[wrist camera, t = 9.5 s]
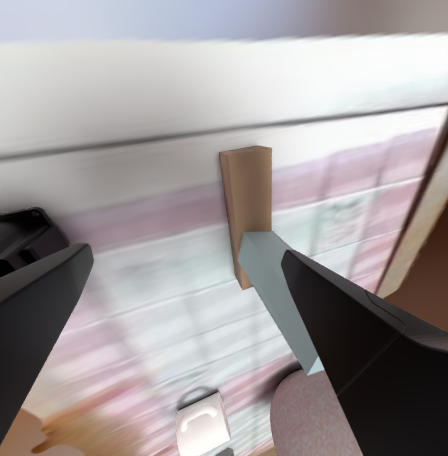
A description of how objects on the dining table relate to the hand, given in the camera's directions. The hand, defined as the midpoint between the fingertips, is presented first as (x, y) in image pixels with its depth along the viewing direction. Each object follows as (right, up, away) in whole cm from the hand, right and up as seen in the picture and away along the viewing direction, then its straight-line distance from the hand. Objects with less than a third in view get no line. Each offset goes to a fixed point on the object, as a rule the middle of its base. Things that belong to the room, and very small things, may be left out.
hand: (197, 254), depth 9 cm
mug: (-5, -38, +35) cm, 52 cm away
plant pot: (+21, -42, +46) cm, 66 cm away
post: (+5, -1, +14) cm, 15 cm away
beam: (+4, +2, +16) cm, 17 cm away
